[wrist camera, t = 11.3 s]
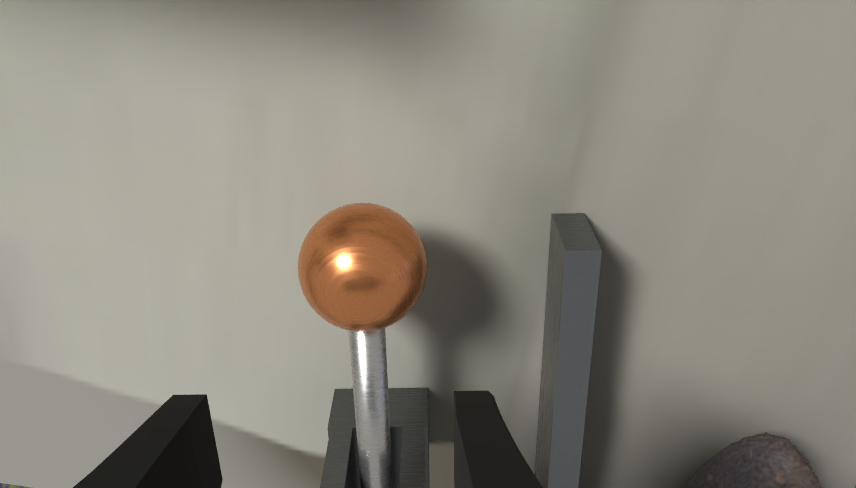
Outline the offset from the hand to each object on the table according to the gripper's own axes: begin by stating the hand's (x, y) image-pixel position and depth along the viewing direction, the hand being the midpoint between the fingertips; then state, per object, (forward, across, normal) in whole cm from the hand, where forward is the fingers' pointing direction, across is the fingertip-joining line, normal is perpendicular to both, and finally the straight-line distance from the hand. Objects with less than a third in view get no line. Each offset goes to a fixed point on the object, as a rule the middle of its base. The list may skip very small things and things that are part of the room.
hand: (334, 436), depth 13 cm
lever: (+8, 0, +6) cm, 10 cm away
